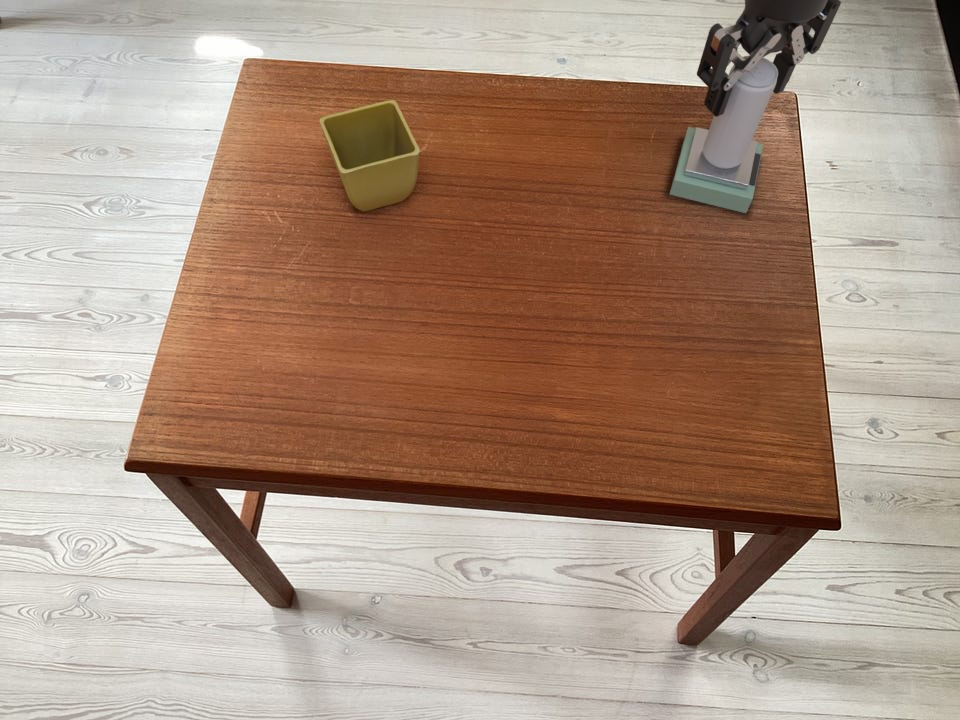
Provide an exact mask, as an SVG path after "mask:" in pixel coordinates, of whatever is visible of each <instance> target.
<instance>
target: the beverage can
mask: <svg viewBox="0 0 960 720" xmlns="http://www.w3.org/2000/svg"><path fill="white" fill-rule="evenodd" d="M742 57H743V58H744V59H745V60H746V59H747V58H748V57H749V55H744V56H742ZM734 67H735V65H734V64H733V65H732V66H731V68H730V70H729V72H728V75H729V74H730V73H731V71H732V70H733V69H734ZM777 77H778V69H777V68H776V66H775V65H774V64H773V61H770V60H769V59H768V58H766V57H762V58H761V59H760V60H759V62H758V63H757V64H756V65H755V66H754V68H753V69H752V70H751V71H750V72H748V73H743V74H742V75H741V77H740V78H739V79H738V80H737V81H736V83H735V84H734V85H733V86H732V88H733V89H732V92H731V95H730V97H729V100H728V103H727V105H726V108H725V111H724V113H723V114H722V115H720V116H717V117H715V116H714V115H713V118H712V120H711V123H710V126H709V129H708V130H709V131H708V134H707V137H706V140H705V143H704V145H703V154H704V156H705V158H706V160H707V161H708V162H709V163H710V164H711V165H713V166H715V167H718V168H721V169H728V168H733V167H735V166H738V165H739V164H740V163H741V162H742V161H743V159H744V157H745V155H746V152H747V150H748V148H749V145H750V143H751V141H752V140H754V136H755V135H756V132H757V129H758V128H759V125H760V123H761V120H762V118H763V116H764V113H765V111H766V109H767V107H768V104H769V102H770V100H771V97H772V95H773V93H774V92H773V90H774V88H775V86H776V82H777Z"/></svg>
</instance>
